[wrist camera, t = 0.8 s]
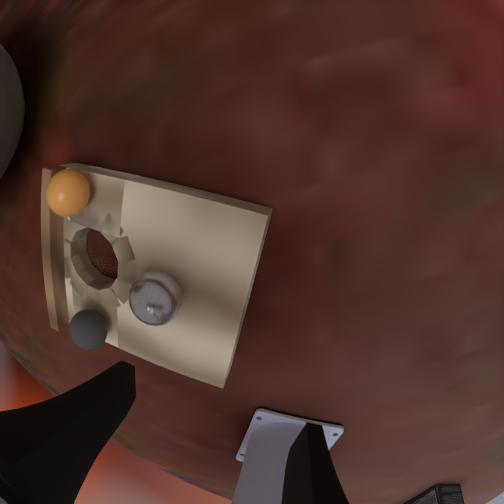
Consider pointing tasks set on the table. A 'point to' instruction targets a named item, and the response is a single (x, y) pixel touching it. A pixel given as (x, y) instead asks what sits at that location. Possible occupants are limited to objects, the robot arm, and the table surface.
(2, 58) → the bowl
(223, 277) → the bearing plate
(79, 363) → the table surface
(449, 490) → the small box
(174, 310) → the steel ball
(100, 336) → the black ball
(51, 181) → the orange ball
